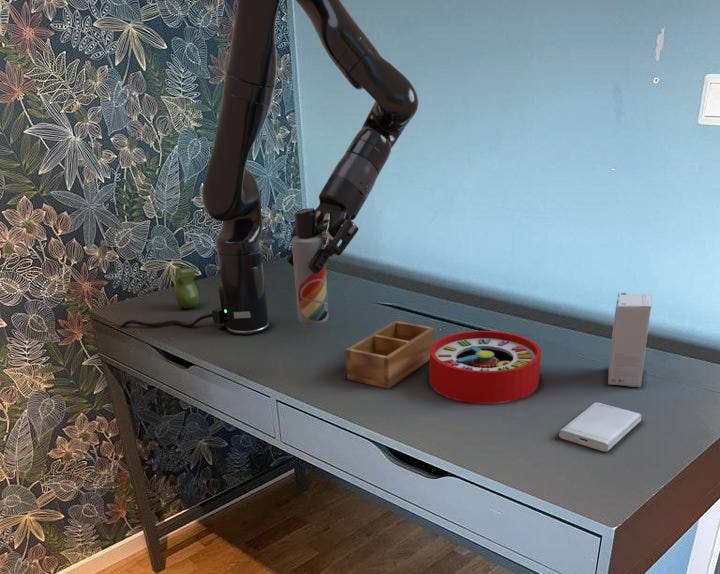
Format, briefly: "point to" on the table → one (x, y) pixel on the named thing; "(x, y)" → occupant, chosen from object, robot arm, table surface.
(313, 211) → the lotion bottle
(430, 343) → the wooden organizer box
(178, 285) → the pear
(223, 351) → the table surface
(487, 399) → the toy clock
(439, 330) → the table surface
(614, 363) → the cosmetic box
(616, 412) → the hard drive
